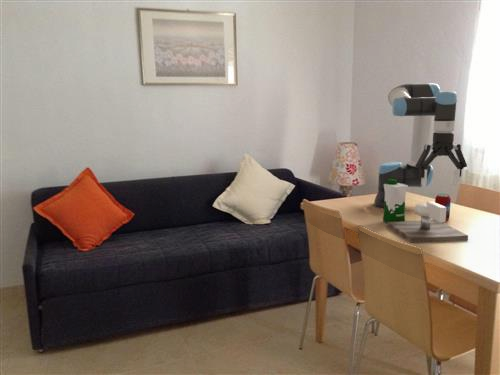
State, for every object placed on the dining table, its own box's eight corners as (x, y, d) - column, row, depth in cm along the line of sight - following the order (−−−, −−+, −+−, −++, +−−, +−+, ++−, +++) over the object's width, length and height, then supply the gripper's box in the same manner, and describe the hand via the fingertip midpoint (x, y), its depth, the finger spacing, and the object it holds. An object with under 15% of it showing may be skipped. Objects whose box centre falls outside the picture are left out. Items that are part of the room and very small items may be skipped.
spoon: (411, 211, 191) (412, 198, 190) (431, 210, 192) (431, 197, 191) (431, 222, 174) (432, 207, 173) (453, 221, 175) (454, 207, 174)
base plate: (386, 226, 200) (387, 221, 199) (437, 224, 202) (437, 219, 202) (411, 242, 176) (411, 237, 176) (467, 240, 179) (468, 235, 178)
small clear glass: (418, 227, 191) (419, 213, 189) (427, 226, 191) (428, 213, 190) (423, 229, 187) (424, 216, 185) (432, 229, 187) (433, 215, 186)
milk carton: (393, 218, 212) (395, 177, 208) (408, 223, 204) (410, 180, 200) (379, 221, 208) (381, 179, 204) (394, 225, 200) (396, 182, 196)
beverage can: (450, 221, 206) (452, 196, 203) (435, 221, 207) (437, 196, 205) (447, 218, 212) (449, 193, 210) (432, 217, 213) (434, 193, 211)
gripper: (417, 133, 167) (414, 188, 171) (479, 131, 169) (474, 186, 173) (408, 131, 174) (405, 184, 178) (468, 130, 177) (463, 182, 181)
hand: (439, 185), depth 176 cm, fingers open, 13 cm apart
